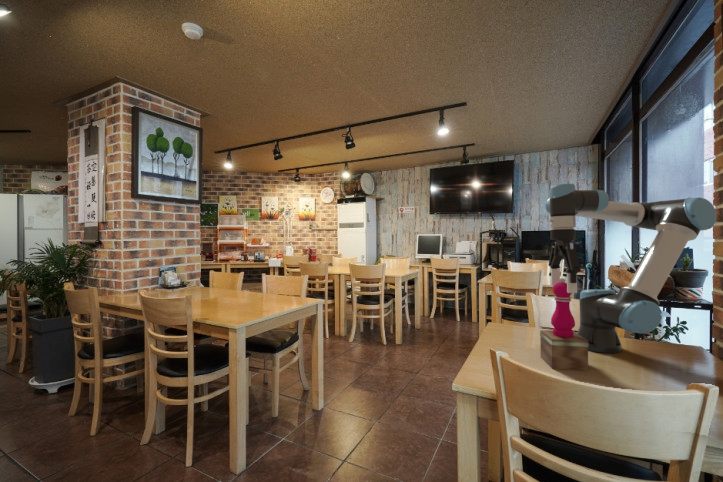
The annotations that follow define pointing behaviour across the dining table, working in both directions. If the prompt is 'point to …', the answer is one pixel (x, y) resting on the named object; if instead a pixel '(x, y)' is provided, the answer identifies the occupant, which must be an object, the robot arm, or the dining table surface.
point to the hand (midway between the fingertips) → (563, 289)
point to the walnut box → (564, 351)
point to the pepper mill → (562, 311)
